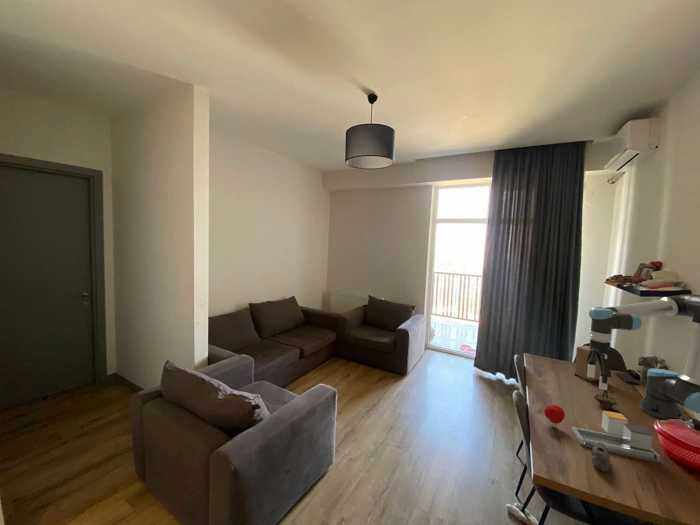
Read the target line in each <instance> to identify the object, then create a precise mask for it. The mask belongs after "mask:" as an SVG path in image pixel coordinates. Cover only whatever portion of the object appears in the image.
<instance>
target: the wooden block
mask: <svg viewBox="0 0 700 525" xmlns="http://www.w3.org/2000/svg"><path fill="white" fill-rule="evenodd" d="M589 351H590V345H580V346H576V352H575V365H574V375H575V374H576V375H578V376H577V377H579V376H580V377H579V378H581V377H582V378H581V379H583V380H586V379H587V380H586V381H588V380H589V382H592V381H593V382H594V381H600V374H601V371H600V366H599V362H598V361H596V365H595V377H594V378H591V377H587V373H588V361H587V360H586V359H587V356H588V353H589ZM593 365H594V364H593ZM576 375H575V376H576Z"/></svg>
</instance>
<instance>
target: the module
mask: <svg viewBox="0 0 700 525" xmlns="http://www.w3.org/2000/svg"><path fill="white" fill-rule="evenodd" d="M601 416H602V419H601V427H602V429H603V431H605V432H606V434H611V435H616V436H621V437H623V431H624V423H625V424H629V420H628V419H627V418H626V417H625V416H624V415H623V414H622V413H620V412H619V413H618V412H613V411H607V410H602V415H601Z"/></svg>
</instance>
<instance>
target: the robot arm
mask: <svg viewBox="0 0 700 525" xmlns="http://www.w3.org/2000/svg"><path fill="white" fill-rule="evenodd" d="M588 315H589V318H591V323H590V332H589V335H590V336H589V337H590V339H589V347H590V351H589V353H588V356H587V359H586V360H587V361H588V373H587V377H591V378H594V377H595V365H596V361H598V362H599V366H600V379H599V383H598V384H599V386H598V390H599V389H600V390H603V391H605V390H607V387H608V382H609V378H612V372H611V363H610V354H607V353H606V352H609V351H610V350H611V342H612V331H613V330H623V331H638V330H640V329H641V328H642V325H643V324H642V323H643V322H642V319H643V318H651V317H658V316H669V317H674V316H676V317H677V316H679V317H680V316H681V317H685V318H686V317H687V318H691V319H692V320H691V323H692V324H693V325H694V326H695V328H694V332H693V336H692V340H691V345H690V347H689V351H688V355H687V358H686V359H687V360H686V363H685V367H684V371H683V373H678V372H676V371H672V370H669V369H663V368H649V369H648V370H647V374H646V385H645V395H644V396H643V398H641V399H642V400H641V401H640V403H639V409H640V410H641V411H643V413H646V414H648V415H649V416H652V417H655V418H657V419H660V420H663V419H682V420H683V414H682V410H681V408H680V405H681V406H682V407H685V408H686V409H688V410H689V411H692V412H695V413H696V414H700V294H696V293H695V294H693V293H692V294H680V295H673V296H664V297H661V298H660V299H658V300H650V301H645V302H644V301H643V302H637V303H631V304H623V305H616V306H607V307H602V306H593V307H591V308H590V309H589V312H588ZM593 364H594V365H593ZM607 391H608V390H607Z"/></svg>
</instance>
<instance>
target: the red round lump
mask: <svg viewBox="0 0 700 525" xmlns="http://www.w3.org/2000/svg"><path fill="white" fill-rule="evenodd" d="M543 413H544V415H545V417H546V418H547V420H549V422H550V423H549V426H551V427H552V428H556V427H557V428H558V424H561V423H562V422H563V420H564V419H565V414H566V413H565V410H564V409H563V407H562V406H560V405H558V404H553V405H547V406H546V407H545V408H544V412H543Z"/></svg>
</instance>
